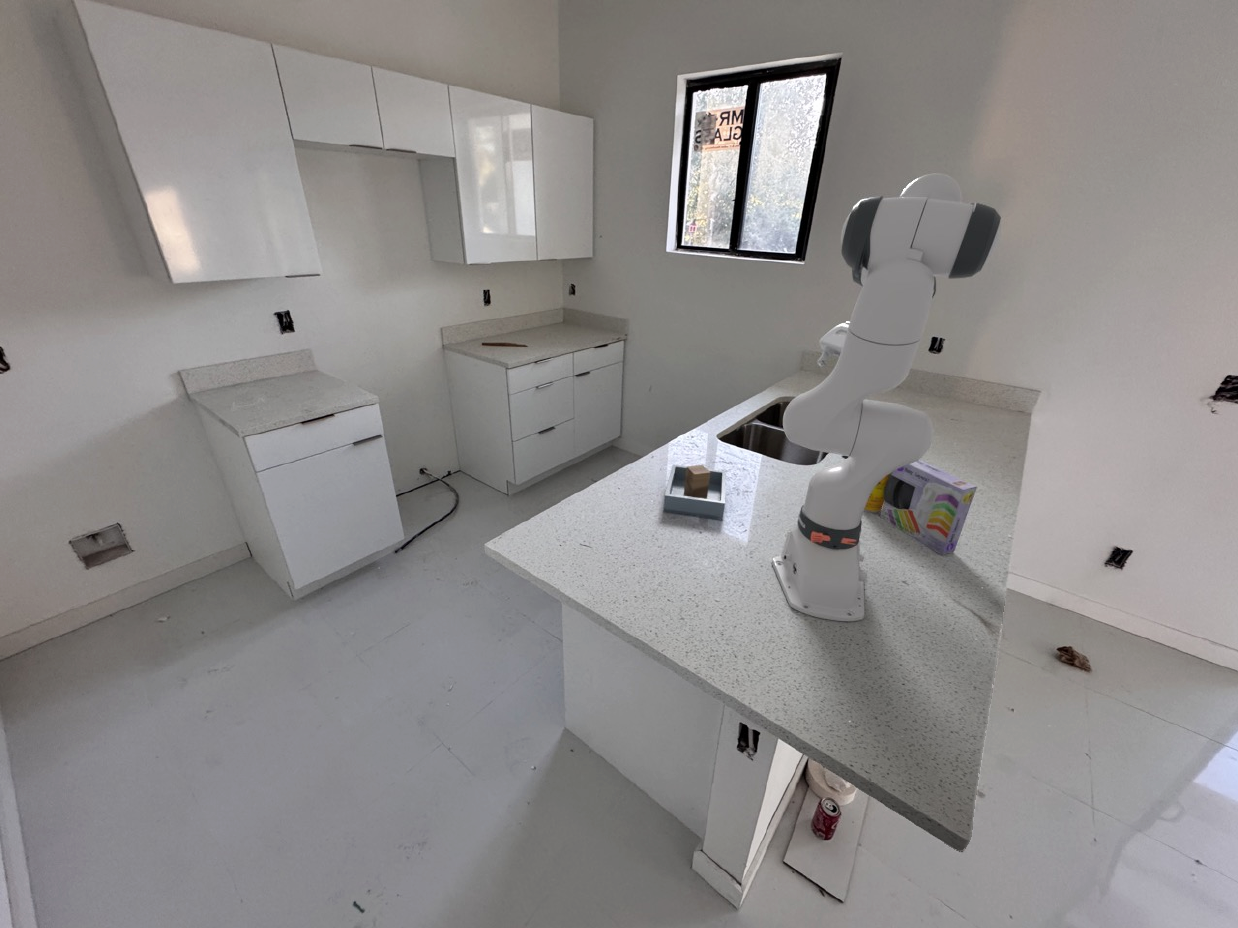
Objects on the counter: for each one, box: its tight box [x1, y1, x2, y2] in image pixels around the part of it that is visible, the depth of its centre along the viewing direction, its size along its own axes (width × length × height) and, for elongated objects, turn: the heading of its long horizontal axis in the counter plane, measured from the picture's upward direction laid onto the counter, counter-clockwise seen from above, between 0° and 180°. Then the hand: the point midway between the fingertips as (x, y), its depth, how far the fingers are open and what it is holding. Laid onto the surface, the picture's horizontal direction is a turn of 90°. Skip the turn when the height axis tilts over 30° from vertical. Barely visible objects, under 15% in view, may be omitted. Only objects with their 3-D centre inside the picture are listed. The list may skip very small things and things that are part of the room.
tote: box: [662, 464, 727, 521], centre depth 133 cm, size 18×15×5 cm
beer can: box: [864, 472, 892, 514], centre depth 130 cm, size 6×6×15 cm
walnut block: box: [684, 464, 711, 499], centre depth 132 cm, size 5×5×8 cm
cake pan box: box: [879, 459, 978, 555], centre depth 119 cm, size 19×5×18 cm, turn 21°
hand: (831, 369), depth 124 cm, fingers open, 8 cm apart
